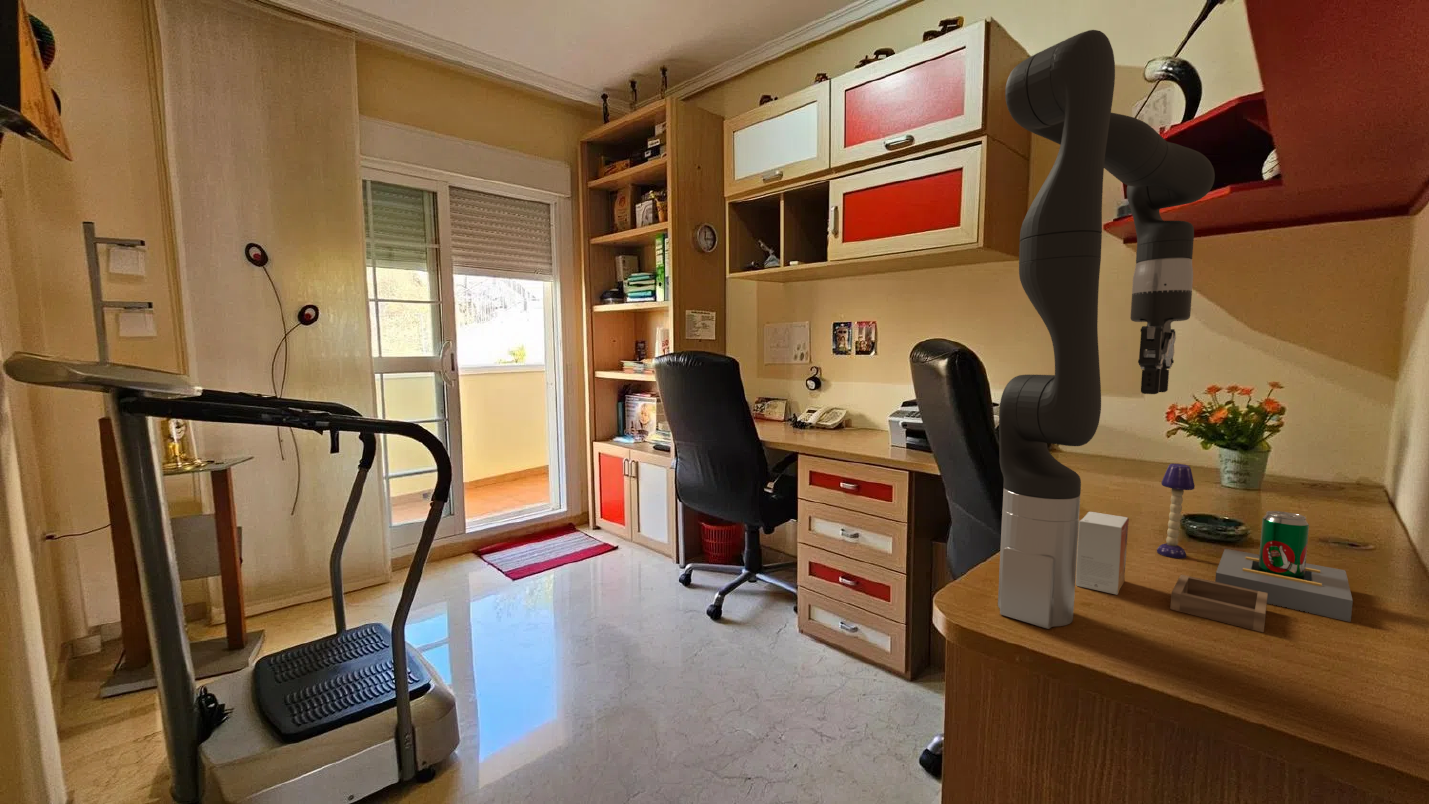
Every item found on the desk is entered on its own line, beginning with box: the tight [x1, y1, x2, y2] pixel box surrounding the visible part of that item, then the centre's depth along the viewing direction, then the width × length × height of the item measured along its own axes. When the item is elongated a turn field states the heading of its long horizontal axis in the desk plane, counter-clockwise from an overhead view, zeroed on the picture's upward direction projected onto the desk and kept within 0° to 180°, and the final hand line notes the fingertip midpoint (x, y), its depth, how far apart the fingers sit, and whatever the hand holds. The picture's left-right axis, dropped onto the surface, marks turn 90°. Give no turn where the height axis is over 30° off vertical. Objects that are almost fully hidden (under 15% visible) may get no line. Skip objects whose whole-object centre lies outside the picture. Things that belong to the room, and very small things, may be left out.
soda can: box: [1258, 510, 1310, 580], centre depth 88 cm, size 5×5×12 cm
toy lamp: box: [1156, 463, 1196, 559], centre depth 103 cm, size 5×5×17 cm
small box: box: [1075, 511, 1130, 596], centre depth 90 cm, size 8×6×10 cm
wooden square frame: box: [1170, 574, 1268, 633], centre depth 81 cm, size 10×10×2 cm
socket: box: [1214, 548, 1354, 623], centre depth 88 cm, size 16×14×3 cm
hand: (1154, 393), depth 92 cm, fingers open, 8 cm apart
